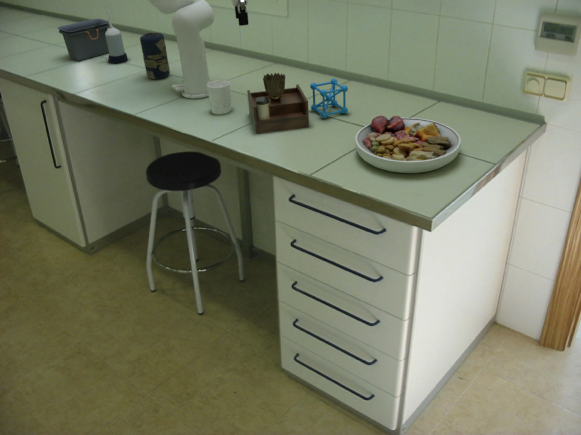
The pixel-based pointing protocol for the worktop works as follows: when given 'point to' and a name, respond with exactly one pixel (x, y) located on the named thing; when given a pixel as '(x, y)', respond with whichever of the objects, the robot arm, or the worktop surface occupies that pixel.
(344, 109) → the molecular structure
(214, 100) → the white cup
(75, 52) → the storage bin
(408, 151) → the bowl
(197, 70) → the robot arm
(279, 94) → the brown hollow bell-shaped piece
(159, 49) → the canister
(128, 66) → the worktop surface
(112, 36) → the humidifier
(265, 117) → the spice jar
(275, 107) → the spice rack
